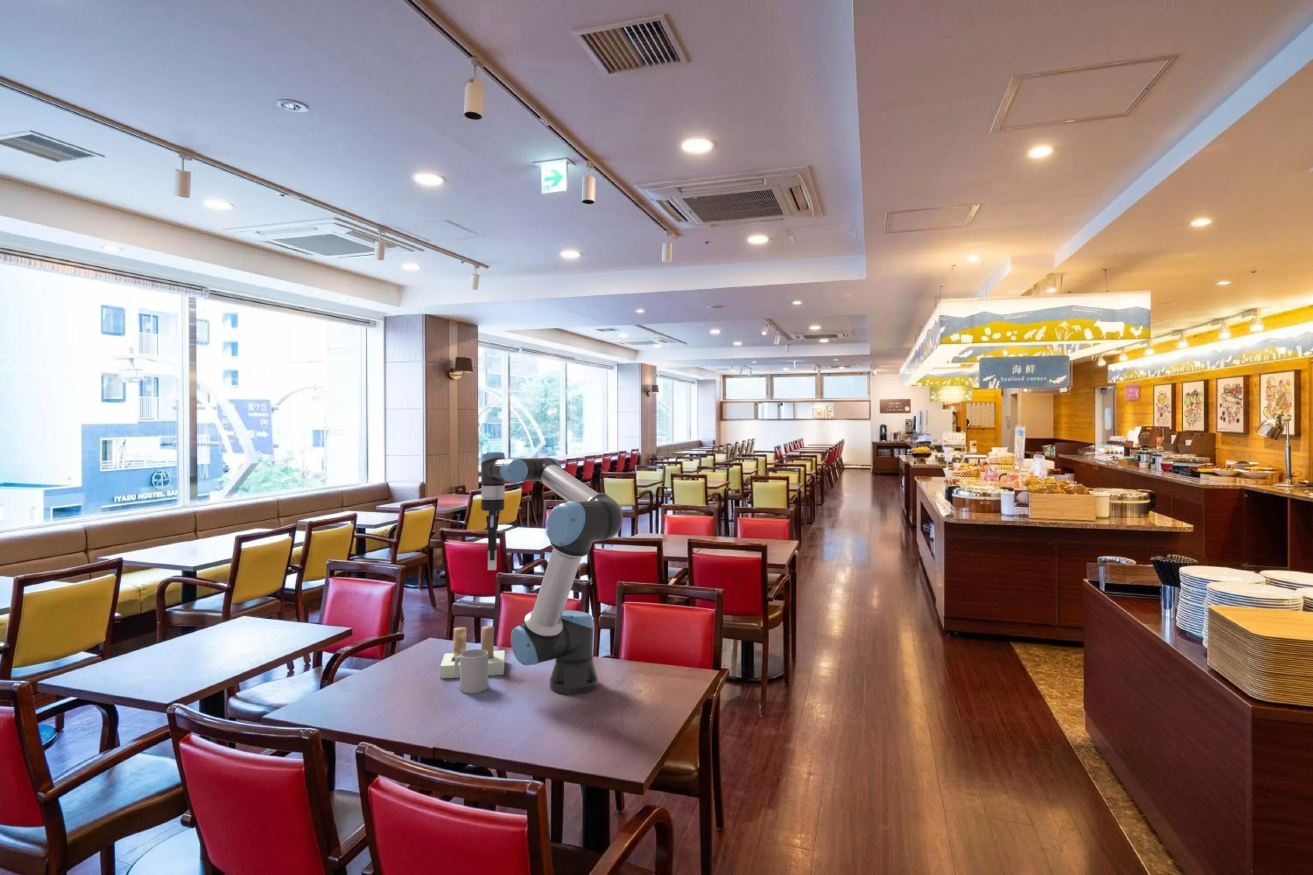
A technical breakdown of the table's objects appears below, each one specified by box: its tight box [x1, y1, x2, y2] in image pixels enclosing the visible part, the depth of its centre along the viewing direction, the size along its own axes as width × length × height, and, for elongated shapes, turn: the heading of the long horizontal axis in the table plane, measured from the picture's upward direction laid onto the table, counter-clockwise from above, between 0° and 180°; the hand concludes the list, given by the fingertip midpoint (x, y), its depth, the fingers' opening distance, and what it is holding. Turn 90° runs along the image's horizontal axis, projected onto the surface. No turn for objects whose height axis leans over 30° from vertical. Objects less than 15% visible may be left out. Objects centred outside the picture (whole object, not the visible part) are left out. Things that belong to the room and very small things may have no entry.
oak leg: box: [453, 626, 467, 661], centre depth 223 cm, size 4×4×14 cm
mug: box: [454, 648, 489, 694], centre depth 207 cm, size 12×8×11 cm
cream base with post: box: [439, 625, 506, 679], centre depth 224 cm, size 20×13×14 cm, turn 101°
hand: (492, 569), depth 220 cm, fingers closed
